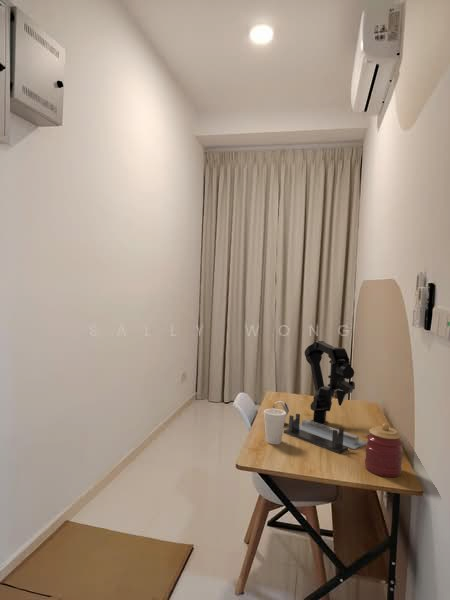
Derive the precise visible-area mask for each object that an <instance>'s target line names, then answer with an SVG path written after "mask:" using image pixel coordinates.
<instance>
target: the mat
mask: <svg viewBox="0 0 450 600" xmlns="http://www.w3.org/2000/svg"><path fill="white" fill-rule="evenodd" d="M299 429H300V430H302V431H305V432H308V433H311V434H313V435H316V436H319V437H322V438H324V439H327V440H330V441H332V437H330V436H327V435H324V434H321V433H318V432H315V431H313V430H310V429H307V428H304V427H302V424H299ZM366 443H367V442H365V441H361V440H359V441H358V444H356V445H352V444H349V443H347V442H344V441H343V445H344V446H347V447H348V449H350V450H352V449H353V450H354V451H355V450H357V449H360V448H361V447H364V446H366ZM359 447H360V448H359Z"/></svg>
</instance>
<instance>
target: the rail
mask: <svg viewBox="0 0 450 600" xmlns="http://www.w3.org/2000/svg"><path fill="white" fill-rule="evenodd" d="M301 422H302V423H301V425H302V427H304V428H307V429H310V430H313V431H315V432H318V433H321V434H324V435H327V436H330V437H333V430H336V431H338V432H337V434H339V428H335V427H331V426H328V425H326V424H320V423H317V422H314V421H311V420H310V419H307V418H306V419H302V420H301ZM343 441H344V442H347V443H349V444H352V445H356V444H358V441H360V439H359V435H356V434H353V433H349V432H348V431H347V432H346V431H344V434H343Z"/></svg>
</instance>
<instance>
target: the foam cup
mask: <svg viewBox="0 0 450 600" xmlns="http://www.w3.org/2000/svg"><path fill="white" fill-rule="evenodd" d="M263 417H264V419H263V420H264V431H265V442H266V443H268V444H270V445H279V444H281V442H282V437H283V434H284V427H285V423H286V418H287V416H286V412H285V410H284V409H280V408H275V409H273V408H267V409H264V410H263Z"/></svg>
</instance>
